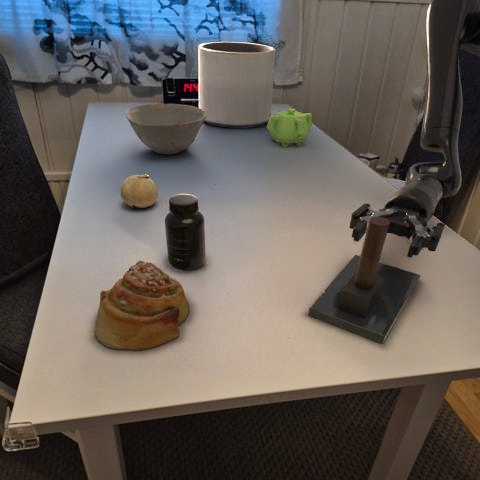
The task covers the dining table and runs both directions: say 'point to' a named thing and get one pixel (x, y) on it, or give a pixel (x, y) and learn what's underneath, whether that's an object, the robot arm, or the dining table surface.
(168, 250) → the supplement bottle
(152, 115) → the ceramic bowl
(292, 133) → the teapot
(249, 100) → the planter
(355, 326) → the slate board
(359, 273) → the wooden mallet
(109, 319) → the pastry
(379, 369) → the dining table surface
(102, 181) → the dining table surface
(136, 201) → the onion
